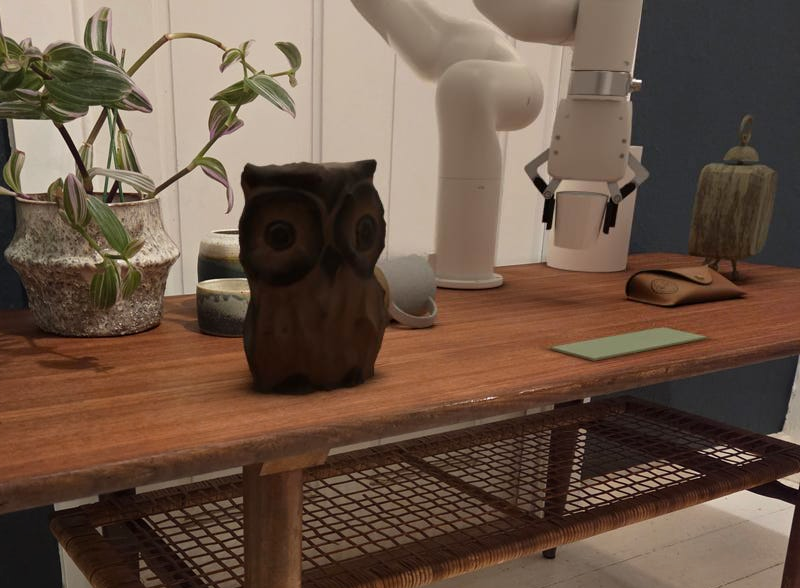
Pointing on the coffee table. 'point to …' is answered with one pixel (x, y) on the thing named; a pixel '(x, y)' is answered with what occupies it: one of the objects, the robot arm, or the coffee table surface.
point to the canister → (609, 246)
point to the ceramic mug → (408, 289)
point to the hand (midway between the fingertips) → (577, 229)
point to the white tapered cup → (578, 219)
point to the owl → (312, 275)
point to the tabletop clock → (732, 207)
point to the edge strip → (627, 343)
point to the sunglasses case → (680, 286)
